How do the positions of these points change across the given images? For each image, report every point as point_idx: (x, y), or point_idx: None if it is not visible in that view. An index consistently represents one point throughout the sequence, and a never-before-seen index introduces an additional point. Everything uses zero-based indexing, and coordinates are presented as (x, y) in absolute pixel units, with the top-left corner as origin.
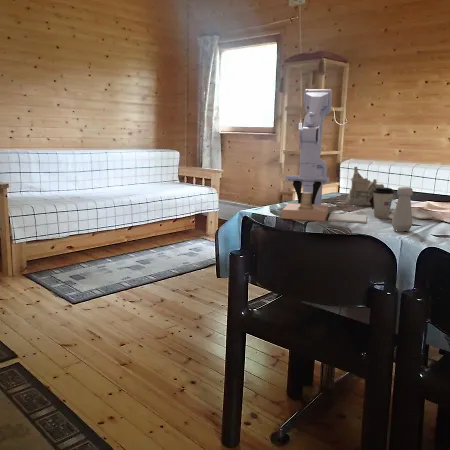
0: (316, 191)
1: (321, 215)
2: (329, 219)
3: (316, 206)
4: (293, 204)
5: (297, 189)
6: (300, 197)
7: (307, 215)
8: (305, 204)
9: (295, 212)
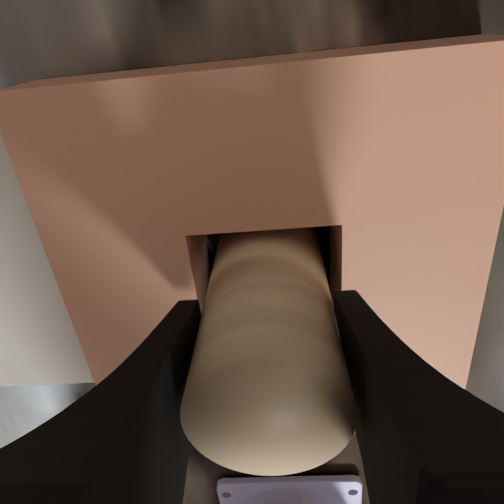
0: (84, 402)
1: (46, 83)
2: None
3: None
4: None
5: (431, 398)
6: (348, 361)
7: (202, 66)
8: (263, 263)
9: (347, 55)
